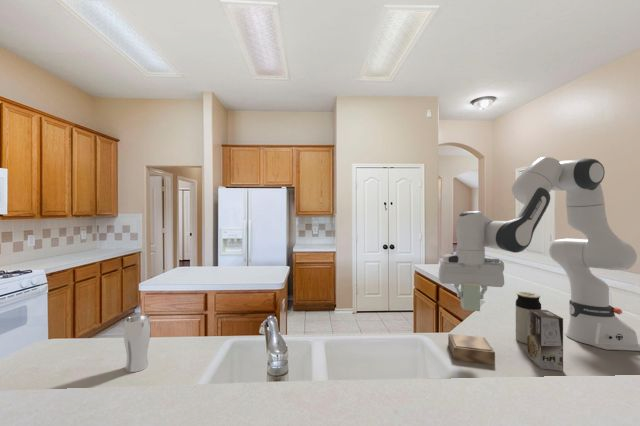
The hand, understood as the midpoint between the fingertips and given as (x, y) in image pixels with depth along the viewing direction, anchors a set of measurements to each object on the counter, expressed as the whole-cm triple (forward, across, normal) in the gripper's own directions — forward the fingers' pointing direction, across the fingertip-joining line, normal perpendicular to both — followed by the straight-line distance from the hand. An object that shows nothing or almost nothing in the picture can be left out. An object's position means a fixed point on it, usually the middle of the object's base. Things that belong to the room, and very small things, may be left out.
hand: (470, 297), depth 101 cm
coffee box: (+19, -22, 0) cm, 29 cm away
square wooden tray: (+19, 0, 0) cm, 19 cm away
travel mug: (+19, -24, -18) cm, 36 cm away
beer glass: (+20, +101, +39) cm, 110 cm away
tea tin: (+4, 0, 0) cm, 4 cm away
